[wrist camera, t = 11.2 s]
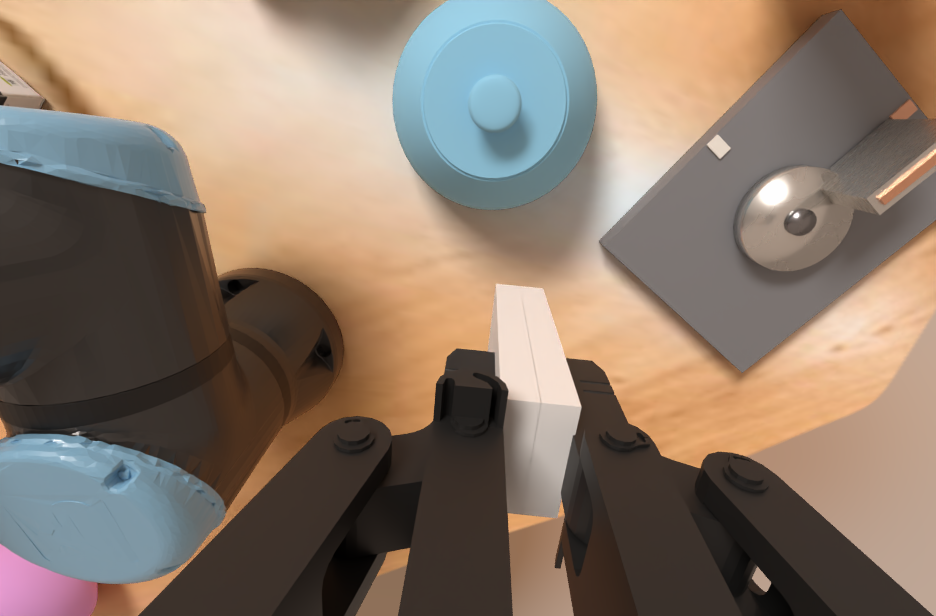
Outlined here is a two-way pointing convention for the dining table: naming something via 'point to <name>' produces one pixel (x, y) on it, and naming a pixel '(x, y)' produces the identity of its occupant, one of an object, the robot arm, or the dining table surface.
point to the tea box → (17, 91)
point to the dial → (832, 195)
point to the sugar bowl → (494, 100)
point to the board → (744, 163)
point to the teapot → (41, 590)
